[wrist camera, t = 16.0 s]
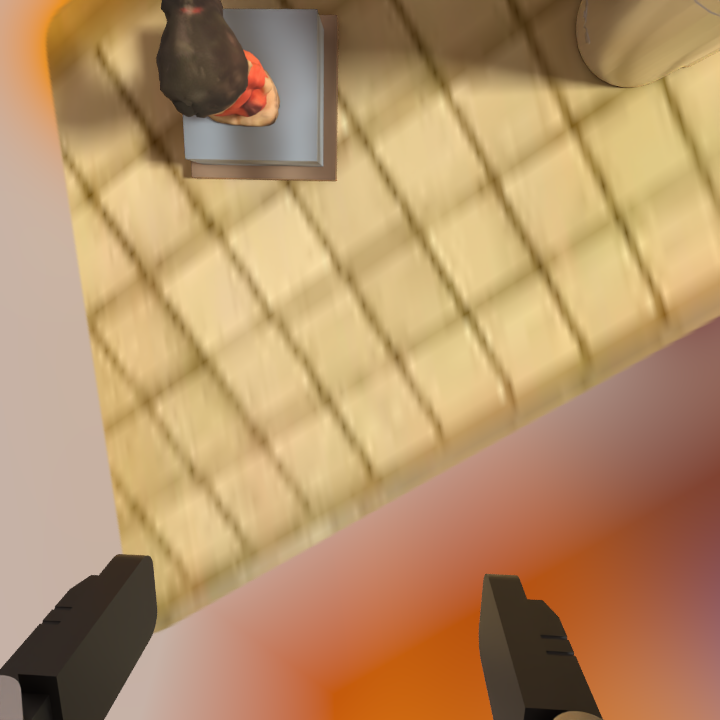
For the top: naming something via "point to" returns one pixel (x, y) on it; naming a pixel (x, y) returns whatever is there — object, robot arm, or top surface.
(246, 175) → the pedestal
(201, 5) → the figurine
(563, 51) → the top surface
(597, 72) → the robot arm
